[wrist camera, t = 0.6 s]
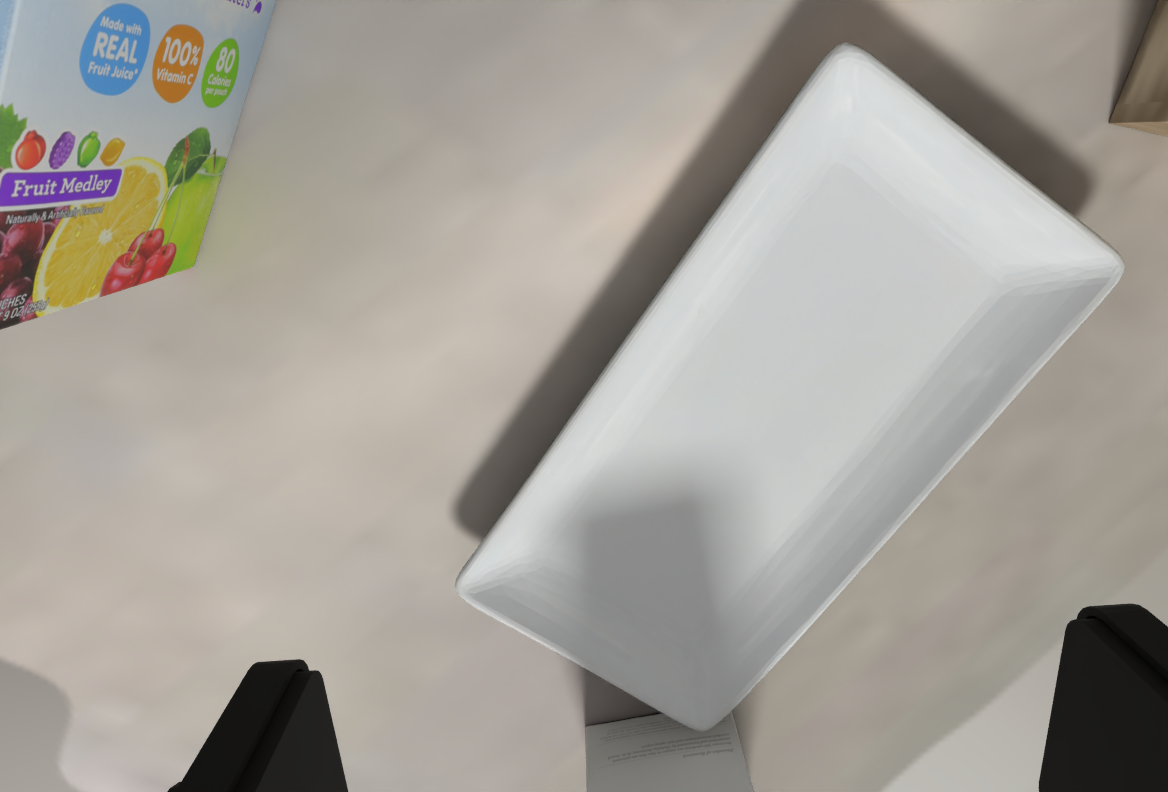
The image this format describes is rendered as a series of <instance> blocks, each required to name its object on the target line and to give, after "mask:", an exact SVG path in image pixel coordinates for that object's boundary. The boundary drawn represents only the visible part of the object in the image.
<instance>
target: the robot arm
mask: <svg viewBox="0 0 1168 792" xmlns="http://www.w3.org/2000/svg"><path fill="white" fill-rule="evenodd" d="M168 792H348V789H347V784H346V780H345V775H344V771H343V766H342V762H341V757H340V753H339V748H338V744H337V739H336V735H335V731H334V726H333V722H332V717H331V713H330V708H329V704H328V699H327V695H326V690H325V686H324V681H323V678H322V675H321V673H320V672H319V671H316V670H315V671H309V669H308V666H307V664H306V663H305V662H304V661H303V660H300V659H299V660H284V661H269V662H257V663H255V664H253V665H252V666H251V668H250V669H249V670H248V672H247V673H246V675H245V677H244V678H243V680H242V682H241V683H240V685H239V687H238V688H237V690H236V692H235V693H234V695H233V697H232V698H231V700H230V702H229V703H228V705H227V707H226V708H225V710H224V712H223V713H222V715H221V717H220V718H219V720H218V722H217V723H216V725H215V727H214V728H213V730H212V732H211V733H210V735H209V737H208V738H207V740H206V742H205V743H204V745H203V747H202V748H201V750H200V752H199V753H198V755H197V757H196V758H195V760H194V762H193V763H192V765H191V767H190V768H189V770H188V772H187V773H186V775H185V777H184V778H183V780H182V782H179V783H177V784H176V785H174V786H173V787H171V788H170V789H169V790H168ZM1039 792H1168V627H1167V626H1166V625H1165V624H1163V623H1162V622H1161V621H1160V620H1159V619H1158V618H1156V617H1155V616H1154V615H1153V614H1152V613H1150V612H1149V611H1148V610H1146V609H1145V608H1143V607H1141V606H1140V605H1136V604H1119V605H1103V606H1089V607H1086V608H1083V609H1082V610H1081V611H1080V612H1079V613H1078V616H1077V619H1076V620H1072V621H1070V622H1069V623H1068V624H1067V627H1066V630H1065V636H1064V642H1063V647H1062V653H1061V659H1060V665H1059V670H1058V676H1057V682H1056V688H1055V693H1054V699H1053V705H1052V711H1051V717H1050V723H1049V728H1048V734H1047V739H1046V746H1045V751H1044V757H1043V763H1042V768H1041V774H1040V780H1039Z"/></svg>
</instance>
